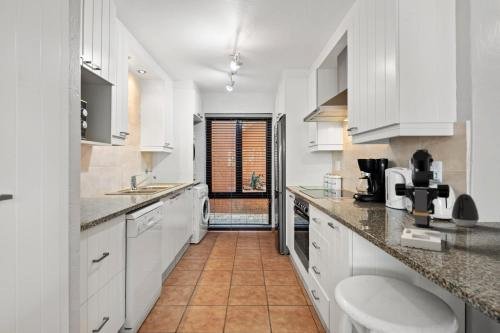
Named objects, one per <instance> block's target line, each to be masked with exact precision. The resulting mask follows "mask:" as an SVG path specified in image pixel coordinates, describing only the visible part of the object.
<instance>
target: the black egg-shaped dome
mask: <svg viewBox="0 0 500 333" xmlns="http://www.w3.org/2000/svg"><path fill="white" fill-rule="evenodd" d="M479 215H480V214H479V211H478V207H477V205H476V201H475V200H474V199H473V197H472V196H471V195H470V194H468V193H460V194H459V195H458V196H457V197H456V199H455V201H454V203H453V207H452V210H451V218H452V221H453V223H454V224H456V225H457V226H460V227H466V228H469V227H470V228H471V227H474V226H476V225H477V224H478V221H479V220H480V216H479Z"/></svg>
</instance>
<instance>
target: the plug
mask: <svg viewBox="0 0 500 333" xmlns="http://www.w3.org/2000/svg"><path fill="white" fill-rule="evenodd" d="M414 194H415V210H414V211H413V213H412V215H413V216H414V223H415V224H426V225H427V216H429V212H430V211H427V190H415V193H414Z"/></svg>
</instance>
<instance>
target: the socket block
mask: <svg viewBox="0 0 500 333" xmlns="http://www.w3.org/2000/svg"><path fill="white" fill-rule="evenodd" d="M400 238H401V239H400V240H401V241H400V242H401V245H402V246H401V245H400V246H401V247H405V246H408V247H407V248H413V247H415V248H414V249H420V248H422V250H428V249H429V251H434V252H436V251H437V252H441V251H442V241H441V234H440V231H434V230H426V229H418V228H417V229H416V228H408V227H407V228H406V227H405V228H404V229H403V231H402V235H401V236H400Z"/></svg>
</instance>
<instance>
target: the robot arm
mask: <svg viewBox="0 0 500 333" xmlns="http://www.w3.org/2000/svg"><path fill="white" fill-rule="evenodd" d="M433 163H434V158H433V155H432V154H431V153H429V149H426V148H425V149H423V148H422V149H416V151H415V152H414V153H413V154H412V156H411V158H410V164H411V165H412V166H413V175H412V176H413V178H412V185H409V184H408V185H407V183H405V182H403V183H402V182H401V183H399V182H397V183H395V184H394V191H395V196H397V197H405V198H408V199H409V201H410V202H411V214H413V211H414V210H415V190H427V211H429V216H427V225H426V224H415V222H414V223H412V225H413V226H415V227H417V228H434V226H433V225H431V224H430V223H431V222H430V221H431V220H430V215H432V216H433V215H435V213H436V212H435V211H436V210H435V208H436V207H435V203H434V201H435V200H437V199H438V198H441V199H448V198H450V190H451V189H450V185H449V184H448V183H447V184H442V183H438V184H436V187H430V183H431V182H430V180H434V178H435V177H434V174H435V172H434V170H431V167H433Z"/></svg>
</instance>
